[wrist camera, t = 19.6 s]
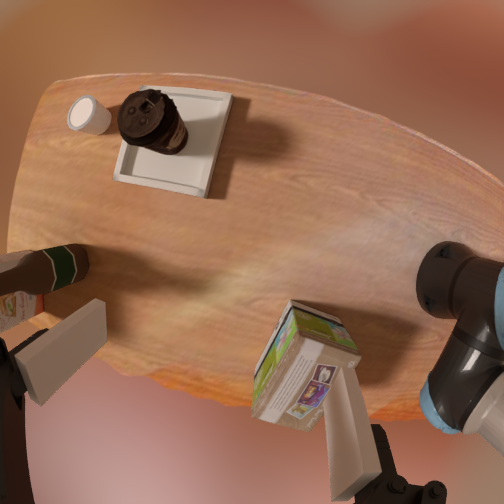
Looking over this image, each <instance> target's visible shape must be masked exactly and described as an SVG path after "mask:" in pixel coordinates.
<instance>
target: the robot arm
mask: <svg viewBox="0 0 504 504" xmlns="http://www.w3.org/2000/svg"><path fill="white" fill-rule="evenodd" d="M416 292H417V298H418V301H419V303H420V305H421V307H422V308H423V309H424V310H425V311H426V312H427V313H429V314H430V315H432V316H434V317H436V318H441V319H457V322H456V325H455V327H454V329H453V331H452V333H451V335H450V337H449V339H448V341H447V343H446V345H445V347H444V349H443V351H442V353H441V355H440V357H439V359H438V361H437V362H436V364H435V366H434V368H433V369H432V371H430V373H429V374H428V377H427V380H426V382H425V384H424V386H423V387H422V389H421V391H420V397H419V403H420V407H421V410H422V412H423V414H424V415H425V417H426V418H427V419H428V421H429V422H430V423H431V424H432V425H434V427H436V428H437V429H439V428H440V429H441V430H442V432H444V433H448V434H456V433H458V432H460V431H461V432H462V433H463V434H465V435H467V434H472V433H479V434H480V435H481V436H482V437H483V438H484V439H485V440H486V441H487V442H488V443H490V444H491V445H492V446H493V447H494V448H495V449H496V450H497V451H498V452H499V453H500V454H501V455H502V456H504V263H501V262H497V261H493V260H489V259H485V258H480V257H477V256H476V255H475V254H473V253H472V252H471V251H470V250H469V249H468V248H466V247H465V246H464V245H462V244H460V243H457V242H452V241H444V242H441V243H439V244H437V245H435V246H434V247H433V248H432V249H431V250H430V251H429V252H428V253H427V254H426V256H425V257H424V259H423V261H422V263H421V265H420V268H419V271H418V275H417V281H416ZM106 342H107V326H106V302H104V301H101V300H99V299H96V298H95V299H93V300H92V301H90V302H89V303H87V304H86V305H84V306H83V307H81V308H80V309H78V310H77V311H75V312H74V313H73V314H71V315H70V316H68V317H67V318H65V319H64V320H62V321H61V322H60V323H58V324H57V325H55V326H54V327H52V328H51V329H50V330H49V329H47V328H46V329H43V330H40V331H37V332H36V333H35V334H33V335H32V337H29V338H28V339H27V340H25V341H23V342H22V343H21V344H19V345H18V346H16V347H15V348H14V349H12V350H11V351H10V352H8V350H7V347H6V344H5V341H4V340H3V339H2V338H1V337H0V504H35V502H34V498H33V493H32V488H31V482H30V475H29V468H28V460H27V450H26V435H25V396H24V393H25V392H26V391H28V393H29V396H30V398H31V399H32V400H33V401H35V402H36V403H37V404H38V405H40V406H42V405H43V404H44V403H45V402H46V401H47V400H48V399H49V398H50V397H51V396H52V395H53V394H54V393H55V392H56V391H57V390H58V389H59V388H60V387H61V386H62V385H63V384H64V383H65V382H66V381H67V380H68V379H69V378H70V377H71V376H72V375H73V374H74V373H75V372H76V371H77V370H78V369H79V368H80V367H81V366H82V365H83V364H84V363H85V362H86V361H87V360H88V359H89V358H90V357H91V356H93V355H94V354H95V353H96V352H97V351H98V350H99V349H100V348H101V347H102V346H103V345H104V344H105V343H106ZM323 407H324V416H325V426H326V436H327V447H328V459H329V473H330V488H331V501H348V500H350V499H351V498H352V497H353V496H355V503H353V504H446V497H447V489H446V487H445V485H444V484H443V483H442V482H439V481H431V482H428V484H426V485H425V486H418V485H411V484H408V482H407V481H406V479H405V478H403V477H402V476H400V475H398V474H397V472H396V468H395V464H394V460H393V457H392V453H391V450H390V446H389V443H388V439H387V435H386V432H385V431H384V430H383V428H382V427H381V426H380V424H370V421H369V417H368V413H367V410H366V406H365V403H364V399H363V396H362V392H361V389H360V385H359V382H358V379H357V375H356V372H355V369H353V368H346V367H341V369H340V371H339V373H338V375H337V377H336V379H335V381H334V383H333V384H332V386H331V388H330V390H329V392H328V394H327V396H326V398H325V399H324V401H323Z"/></svg>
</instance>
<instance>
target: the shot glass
mask: <svg viewBox="0 0 504 504" xmlns="http://www.w3.org/2000/svg"><path fill="white" fill-rule="evenodd" d="M111 118H112V116H111V113H110V111H108V110H107V109H106V108H105V107H104V106H103V105H102V104H101V103H99V102H98V101H97V100H96V99H95V98H94V97H92V96H91V95H85V96H82V97H80V98H79V99H78V100H76V101H75V102H74V104H73V105H72V107H71V108H70V110H69V113H68V117H67V123H68V126H69V127H70V128H71V129H72V130H76V131H80V132H84V133H88V134H92V135H100V134H102V133H104V132H105V131H106V130H107V129H108V127H109V126H110V123H111Z"/></svg>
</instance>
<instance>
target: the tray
mask: <svg viewBox="0 0 504 504" xmlns="http://www.w3.org/2000/svg"><path fill="white" fill-rule="evenodd" d="M150 88H151V89H154V90H161V93H163V94H167V95H168V97H169V98H170V99H173V101H174V103H175V106H177V110H178V112H179V114H180V116H181V118H182V120H183V122H184V124H185V127H186V129H187V131H188V135H189V136H188V141H187V144H186V146H185V147H184V149H182V150H181V151H180V152H179V153H177V154H174V155H163V154H159V153H157V152H154V151H151V150H148V149H145V148H143V147H138V146H132V145H129V144H128V143H126V142H125V141H124V140H123V141H122V144H121V148H120V152H119V155H118V159H117V163H116V167H115V171H114V175H113V180H115V181H119V182H125V183H131V184H136V185H142V186H147V187H152V188H158V189H163V190H168V191H173V192H178V193H183V194H188V195H192V196H197V197H202V198H207V196H208V192H209V188H210V184H211V180H212V175H213V172H214V168H215V164H216V160H217V156H218V152H219V148H220V145H221V141H222V137H223V134H224V130H225V127H226V123H227V119H228V116H229V113H230V109H231V106H232V102H233V96H232V93H226V92H219V91H211V90H203V89H193V88H181V87H166V86H141V87H140V90H139V91H143V90H147V89H150Z"/></svg>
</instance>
